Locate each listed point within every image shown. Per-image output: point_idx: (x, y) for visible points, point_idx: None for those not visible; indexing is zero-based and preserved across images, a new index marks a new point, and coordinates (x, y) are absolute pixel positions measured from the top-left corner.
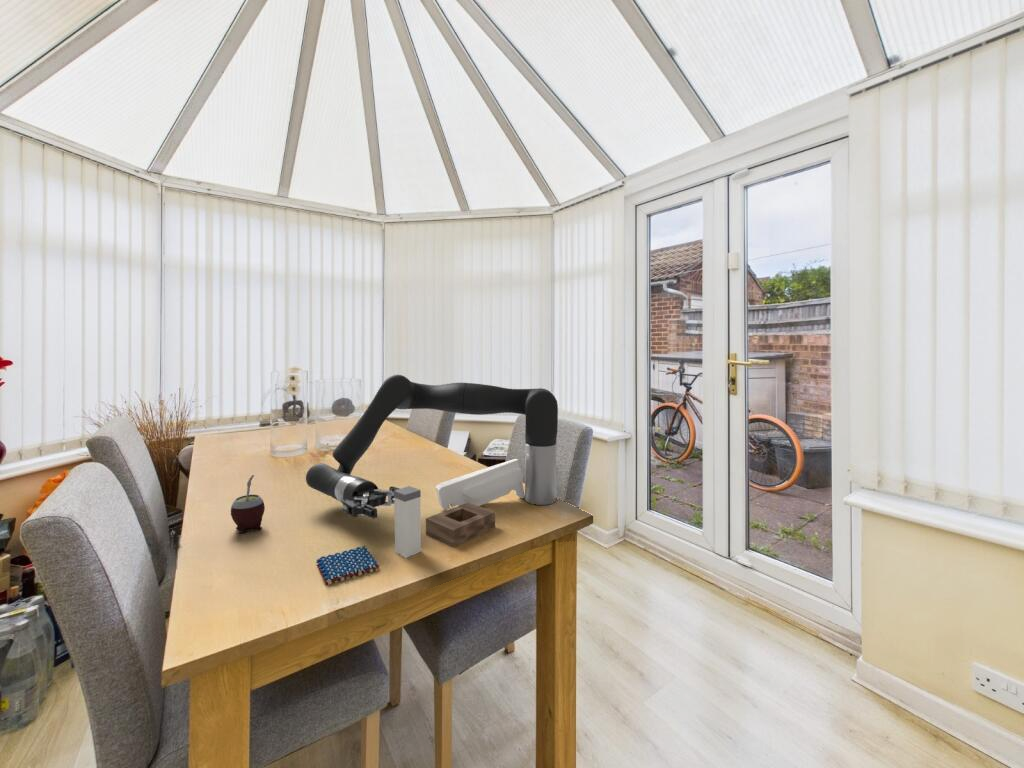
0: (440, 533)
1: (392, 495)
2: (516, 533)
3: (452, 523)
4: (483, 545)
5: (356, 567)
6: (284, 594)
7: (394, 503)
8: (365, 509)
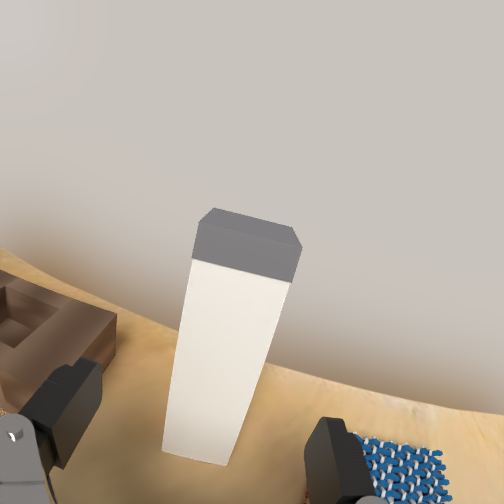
0: None
1: (45, 480)
2: None
3: (72, 321)
4: None
5: (376, 448)
6: (491, 474)
7: (280, 310)
8: (369, 473)
